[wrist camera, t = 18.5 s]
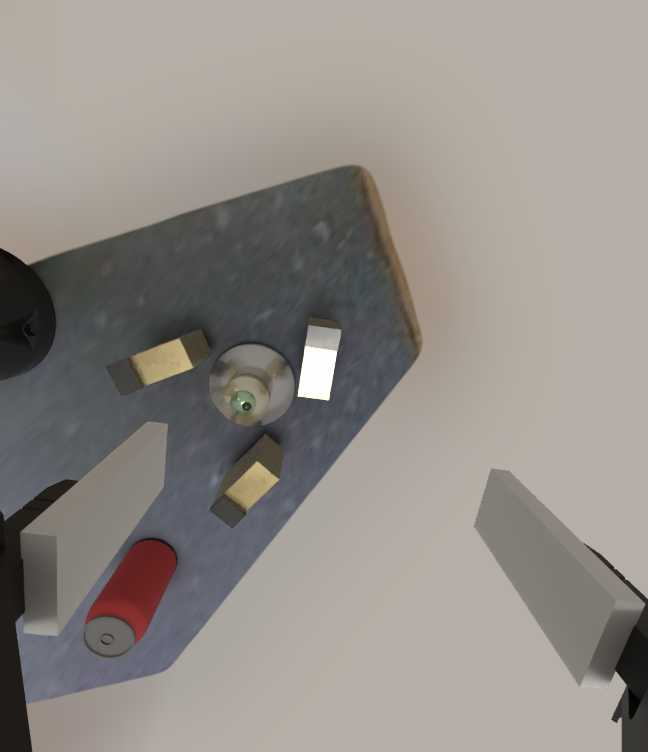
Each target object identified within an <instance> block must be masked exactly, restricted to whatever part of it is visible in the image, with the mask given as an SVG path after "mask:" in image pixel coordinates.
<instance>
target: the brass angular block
mask: <svg viewBox="0 0 648 752" xmlns="http://www.w3.org/2000/svg"><path fill="white" fill-rule="evenodd" d="M340 335H341V329H340V327H339V325H338V323H337V322H336V321H334V320H327V319H321V318H315V317H309V321H308V327H307V334H306V341H305V348H304V354H303V361H302V368H301V375H300V383H299V391H298V396H302V397H309V398H316V399H323V400H329V395H330V389H331V383H332V378H333V372H334V366H335V360H336V354H337V352H338V347H339V341H340Z"/></svg>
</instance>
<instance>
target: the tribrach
mask: <svg viewBox="0 0 648 752" xmlns="http://www.w3.org/2000/svg"><path fill="white" fill-rule="evenodd" d="M209 389H210V394H211V398H212V400H213V402H214V404H215V406H216V407H217V409H218V410H219V411H220V412H221V413H222V414H223V415H224V416H225V417H226V418H227V419H228V420H230V421H231V422H233V423H236V424H240V425H244V426H262V425H266V424H269V423H272V422H274V421H275V420H277V419H278V418H280V417H281V416H282V415H283V414H284V413H285V412H286V411H287V409H288V408H289V406H290V404H291V402H292V399H293V396H294V390H295V378H294V374H293V371H292V368H291V366H290V365H289V363H288V361H287V360H286V359H285V358H284V357H283V356H282V355H281V354H280V353H279V352H278V351H276V350H275V349H273V348H271V347H269V346H266V345H263V344H258V343H246V344H241V345H238V346H235V347H233V348H231V349H229V350H228V351H227V352H225V353H224V354H223V355H222V356H221V357H220V358H219V359H218V360H217V361H216V363H215V365H214V366H213V368H212V371H211V374H210V379H209Z"/></svg>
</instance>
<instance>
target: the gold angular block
mask: <svg viewBox="0 0 648 752" xmlns="http://www.w3.org/2000/svg"><path fill="white" fill-rule="evenodd" d="M211 354H212V352H211V350H210V348H209V346H208V344H207V341H206V339H205V337H204V335H203V333H202V330H201V329H198V330H196V331H193V332H191V333H188V334H185V335H183V336H180V337H177V338H175V339H172V340H169V341H167V342H164V343H162V344H159V345H156V346H154V347H151V348H148V349H146V350H143V351H141V352H138V353H136V354H134V355H131V356H129V357H127V358H124V359H122V360H120V361H117V362H115V363H113V364H110V365H108V366H106V368H107V370H108V372H109V374H110V376H111V377H112V379H113V381H114V383H115V385H116V387H117V389H118V391H119V392H120V394H121V396H122V395H125V394H128V393H131V392H133V391H136V390H139V389H141V388H143V387H144V386H147V385H149V384H152V383H155V382H157V381H160V380H163V379H165V378H168V377H171V376H173V375H176V374H179V373H181V372H184V371H187V370H189V369H192V368H194V367H195V366H197V365H198V364H199V363H201V362H202V361H203V360H205V359H206V358H207V357H209V356H210V355H211Z"/></svg>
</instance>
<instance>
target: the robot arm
mask: <svg viewBox="0 0 648 752" xmlns="http://www.w3.org/2000/svg"><path fill="white" fill-rule="evenodd" d="M54 331H55V317H54V311H53V306H52V303H51V300H50V298H49V295H48V293H47V291H46V289H45V287H44V286H43V284H42V282H41V281H40V280H39V278H38V277H37V276H36V274H35V273H34V272H33V271H32V270H31V269H30V268H29V267H28V266H27V265H26V264H25V263H24V262H22V261H21V260H20V259H18V258H17V257H15V256H14V255H12V254H11V253H9V252H7V251H5V250H3V249H1V248H0V380H4V379H8V378H11V377H14V376H17V375H20V374H22V373H25V372H27V371H29V370H30V369H32V368H33V367H35V366H36V365H37V364H38V363H39V362H40V361H41V360H42V359H43V358H44V357H45V355H46V354H47V352H48V350H49V348H50V346H51V344H52V341H53V337H54ZM167 430H168V424H164V423H157V422H149V421H148V422H146V423H145V424H144V425H143V426H142V427H141V428H139V429H138V430H137V431H136V432H135V433H134V434H133V435H131V436H130V437H129V438H128V439H127V440H126V441H125V442H123V443H122V444H121V445H120V446H119V447H118V448H116V449H115V450H114V451H113V452H112V453H111V454H110V455H108V456H107V457H106V458H105V459H104V460H103V461H102V462H100V463H99V464H98V465H97V466H96V467H95V468H93V469H92V470H91V471H90V472H89V473H88V474H87V475H85V476H84V477H83V478H82V479H81V480H80V481H75V480H67V479H66V480H63V481H61V482H59V483H56V484H54V485H52V486H50V487H47V488H46V489H45V490H44V491H42V492H41V493H40V494H39V495H37V496H36V497H35V498H34V500H31V501H30V502H28V503H27V504H26V505H25V506H23V508H22V509H20V510H18V511H17V512H16V513H14V514H13V515H12V516H11V517H9V518H8V519H7V520H6V521H4V515H3V514H2V512H1V511H0V752H32V746H31V738H30V731H29V723H28V716H27V708H26V701H25V693H24V686H23V678H22V671H21V663H20V655H19V648H18V640H17V633H16V625H15V622H16V621H17V620H18V619H19V617H20V616H21V615H22V614H23V625H24V633H28V634H38V635H48V636H58V635H59V634H60V632H61V631H62V629H63V628H64V627H65V625H66V624H67V622H68V621H69V620H70V618H71V617H72V615H73V614H74V613H75V611H76V610H77V608H78V607H79V606H80V604H81V603H82V601H83V600H84V598H85V597H86V596H87V594H88V593H89V591H90V590H91V589H92V587H93V586H94V584H95V583H96V582H97V580H98V579H99V577H100V576H101V575H102V573H103V572H104V570H105V569H106V568H107V566H108V565H109V563H110V562H111V560H112V559H113V558H114V556H115V555H116V553H117V552H118V551H119V549H120V548H121V546H122V545H123V544H124V542H125V541H126V539H127V538H128V537H129V535H130V534H131V532H132V531H133V530H134V528H135V527H136V525H137V524H138V522H139V521H140V520H141V518H142V517H143V515H144V514H145V513H146V511H147V510H148V508H149V507H150V506H151V504H152V503H153V501H154V500H155V499H156V497H157V496H158V494H159V493H160V492H161V490H162V489H163V487H164V474H165V459H166V445H167ZM474 527H475V528H476V530H477V531H478V533H479V534H480V536H481V537H482V539H483V541H484V542H485V544H486V545H487V547H488V548H489V550H490V551H491V553H492V554H493V556H494V557H495V559H496V560H497V562H498V563H499V565H500V566H501V568H502V569H503V571H504V572H505V574H506V575H507V577H508V579H509V580H510V581H511V583H512V584H513V586H514V588H515V589H516V591H517V592H518V594H519V595H520V597H521V598H522V600H523V601H524V603H525V604H526V606H527V607H528V609H529V611H530V612H531V613H532V615H533V617H534V618H535V619H536V621H537V622H538V624H539V626H540V627H541V629H542V630H543V632H544V633H545V635H546V636H547V638H548V639H549V641H550V643H551V644H552V646H553V647H554V648H555V650H556V652H557V653H558V654H559V656H560V658H561V659H562V661H563V662H564V664H565V665H566V667H567V668H568V670H569V671H570V673H571V674H572V676H573V678H574V679H575V680H576V682H577V683H578V685H579V687H586V688H596V689H608V687H609V684H610V682H611V680H612V678H613V675H614V673H615V671H616V672H617V673H618V674H619V676H620V677H621V678H622V679H623V681H624V682H625V683H626V685H627V686H626V688H625V691H624V693H623V695H622V697H621V699H620V701H619V704H618V706H617V708H616V710H615V712H614V715H613V717H612V719H611V720H613V721H614V722H616V723H617V721H618V719H619V718H620V717H622V752H648V599H647V598H646V597H645V596H644V595H643V594H642V593H641V592H640V591H639V590H638V589H636V588H635V587H634V586H633V585H632V584H631V583H630V582H629V581H628V580H625V577H624V576H623V575H622V574H621V573H620V572H619V571H618V570H616V569H614V567H613V566H612V565H611V564H610V563H609V562H608V561H607V560H606V559H605V558H604V557H603V556H602V555H600V554H599V553H598V552H596V551H595V550H593V549H592V548H590V547H589V546H587V545H586V544H584V543H582V542H581V541H580V540H579V539H578V538H577V537H576V536H575V535H574V534H573V533H572V532H571V531H570V530H569V529H568V528H567V527H566V526H565V525H564V524H563V523H562V522H561V521H560V520H559V519H558V518H557V517H556V516H555V515H554V514H553V513H552V512H551V511H550V510H548V509H547V508H546V507H545V506H544V505H543V504H542V503H541V502H540V501H539V500H538V499H537V498H536V497H535V496H534V495H533V494H532V493H531V492H530V491H529V490H528V489H527V488H526V487H525V486H524V485H523V484H522V483H521V482H520V481H519V480H518V479H517V478H516V477H515V476H514V475H513V474H511V472H509V471H506V470H499V469H491V471H490V474H489V477H488V481H487V484H486V488H485V491H484V494H483V498H482V501H481V505H480V508H479V511H478V515H477V518H476V521H475V525H474Z"/></svg>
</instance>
